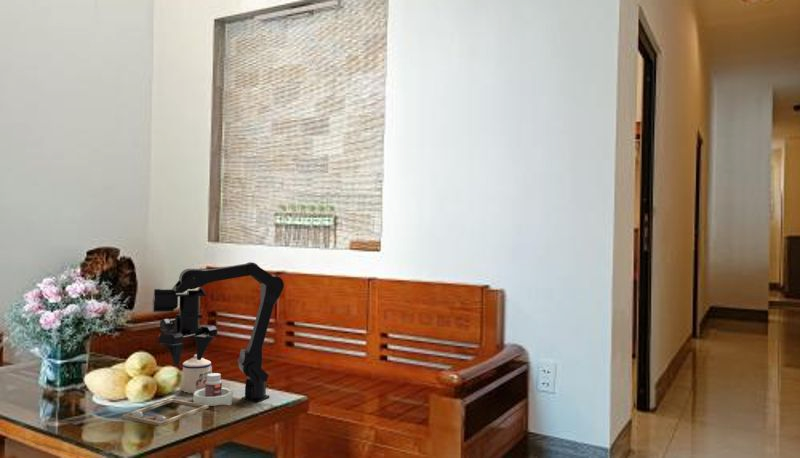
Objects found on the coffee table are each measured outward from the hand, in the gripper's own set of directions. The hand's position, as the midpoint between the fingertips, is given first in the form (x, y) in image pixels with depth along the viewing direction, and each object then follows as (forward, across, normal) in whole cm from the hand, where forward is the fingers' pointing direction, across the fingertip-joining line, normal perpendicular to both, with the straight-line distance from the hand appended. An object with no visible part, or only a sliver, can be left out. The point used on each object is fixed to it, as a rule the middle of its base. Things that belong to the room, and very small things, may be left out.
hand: (188, 362), depth 179 cm
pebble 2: (+12, +17, +7) cm, 22 cm away
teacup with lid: (+13, -16, -10) cm, 23 cm away
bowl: (+13, -4, +6) cm, 15 cm away
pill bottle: (+12, -5, +6) cm, 15 cm away
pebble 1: (+12, +17, -1) cm, 21 cm away
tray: (+13, +11, +3) cm, 17 cm away
